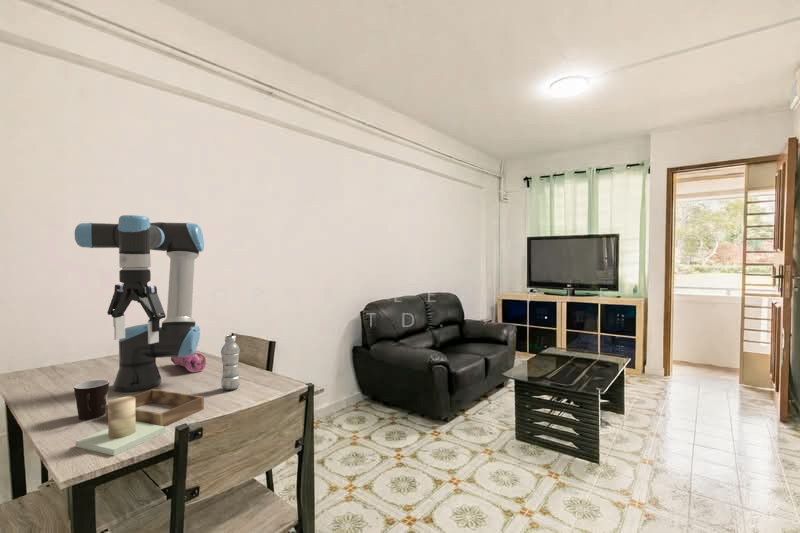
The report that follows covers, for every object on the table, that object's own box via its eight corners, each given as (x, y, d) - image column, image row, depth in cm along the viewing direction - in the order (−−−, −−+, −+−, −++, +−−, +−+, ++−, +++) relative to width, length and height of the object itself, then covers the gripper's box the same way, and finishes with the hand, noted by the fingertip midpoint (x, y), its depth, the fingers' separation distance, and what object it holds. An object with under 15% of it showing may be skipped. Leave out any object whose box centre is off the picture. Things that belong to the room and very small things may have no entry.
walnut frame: (105, 418, 118) (105, 405, 118) (152, 400, 133) (152, 389, 133) (160, 428, 111) (160, 414, 111) (203, 409, 126) (203, 396, 126)
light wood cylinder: (102, 436, 102) (102, 402, 102) (125, 427, 108) (125, 395, 108) (118, 440, 101) (118, 405, 100) (140, 430, 106) (140, 398, 106)
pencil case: (168, 366, 177) (168, 346, 176) (190, 362, 183) (190, 343, 183) (185, 375, 162) (185, 354, 162) (208, 371, 169) (208, 351, 169)
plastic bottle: (244, 387, 147) (244, 335, 147) (229, 392, 141) (229, 338, 141) (231, 385, 150) (231, 333, 150) (216, 390, 144) (216, 336, 143)
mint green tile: (75, 446, 100) (75, 440, 100) (129, 425, 113) (129, 419, 113) (114, 455, 95) (114, 449, 95) (164, 432, 109) (164, 426, 109)
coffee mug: (87, 411, 124) (87, 380, 123) (115, 410, 124) (115, 379, 124) (58, 426, 112) (58, 392, 112) (90, 425, 113) (89, 391, 112)
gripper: (91, 268, 113) (93, 339, 114) (155, 270, 105) (156, 347, 106) (117, 267, 120) (119, 334, 121) (178, 269, 112) (179, 341, 113)
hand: (136, 340), depth 114 cm, fingers open, 13 cm apart
